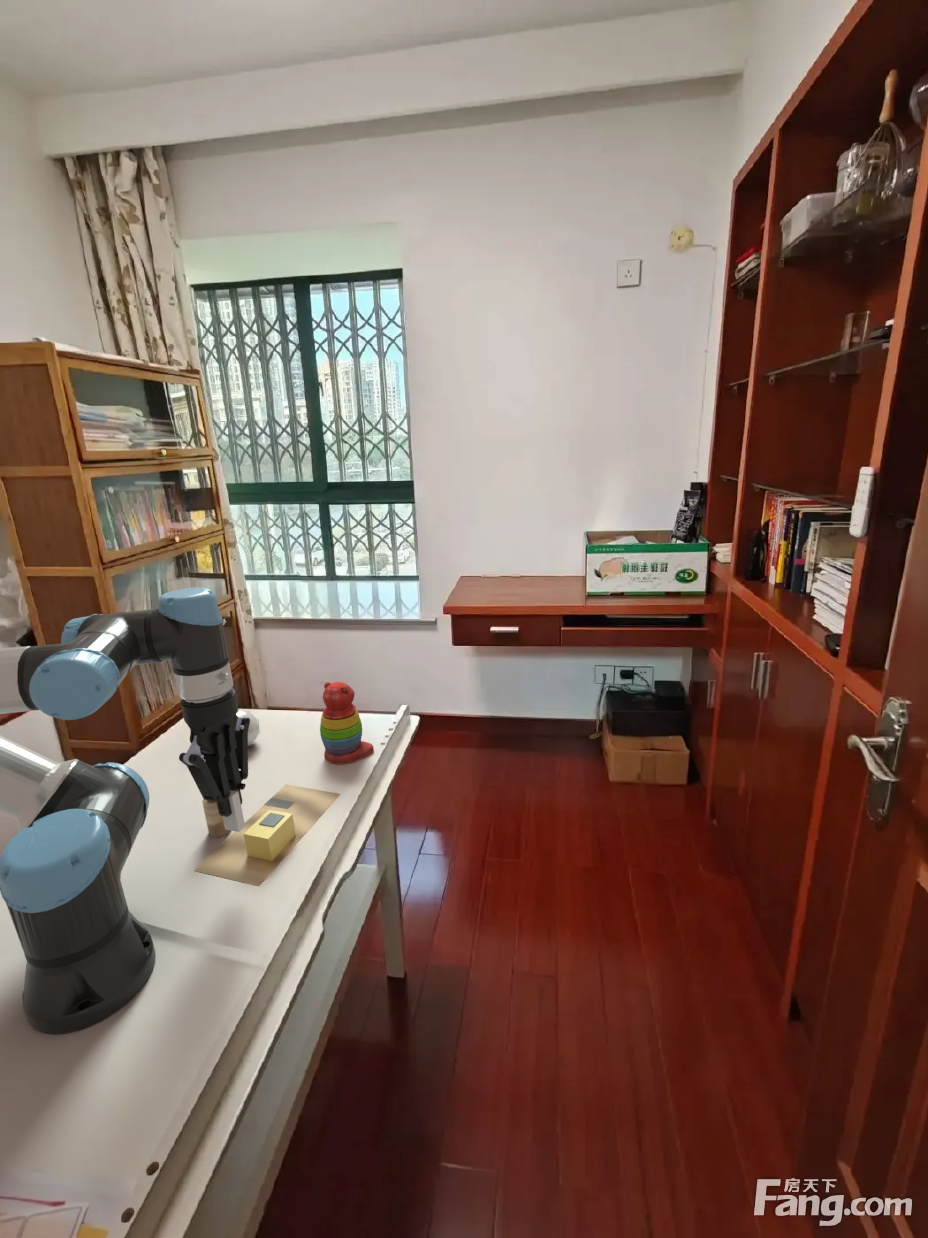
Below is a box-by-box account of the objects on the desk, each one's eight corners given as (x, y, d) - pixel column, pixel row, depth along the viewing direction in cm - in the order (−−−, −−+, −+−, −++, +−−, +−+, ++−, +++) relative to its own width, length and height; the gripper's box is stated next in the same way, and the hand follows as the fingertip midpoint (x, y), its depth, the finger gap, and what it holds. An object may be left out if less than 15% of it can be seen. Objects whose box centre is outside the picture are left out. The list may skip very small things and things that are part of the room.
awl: (223, 844, 105) (210, 781, 101) (205, 841, 106) (191, 778, 102) (237, 831, 109) (225, 769, 105) (220, 827, 110) (208, 766, 106)
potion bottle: (262, 754, 138) (204, 760, 140) (270, 717, 144) (214, 724, 146) (244, 738, 130) (183, 744, 132) (252, 699, 136) (194, 706, 138)
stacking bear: (377, 750, 135) (370, 679, 129) (346, 770, 127) (337, 696, 121) (344, 738, 141) (336, 670, 135) (312, 757, 133) (302, 686, 127)
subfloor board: (273, 895, 93) (272, 889, 92) (183, 873, 98) (182, 868, 98) (352, 800, 116) (351, 795, 116) (276, 787, 122) (275, 782, 121)
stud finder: (272, 861, 98) (268, 838, 97) (247, 855, 100) (243, 833, 99) (295, 835, 105) (292, 813, 103) (272, 830, 106) (268, 808, 105)
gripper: (195, 715, 78) (226, 859, 85) (256, 677, 90) (279, 807, 97) (152, 710, 81) (186, 850, 88) (217, 673, 92) (242, 800, 99)
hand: (235, 827), depth 92 cm, fingers closed
